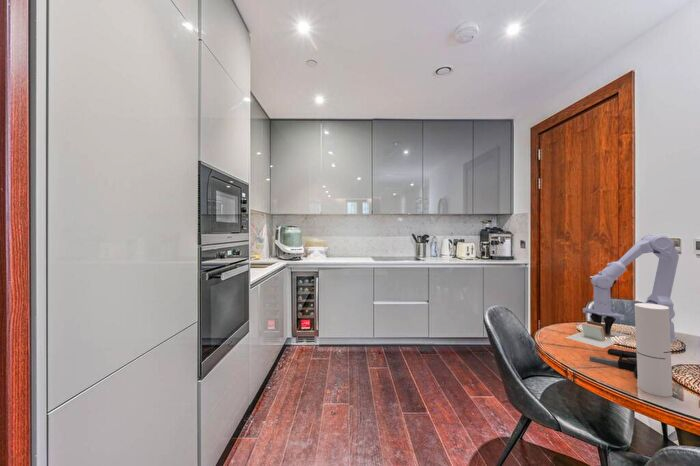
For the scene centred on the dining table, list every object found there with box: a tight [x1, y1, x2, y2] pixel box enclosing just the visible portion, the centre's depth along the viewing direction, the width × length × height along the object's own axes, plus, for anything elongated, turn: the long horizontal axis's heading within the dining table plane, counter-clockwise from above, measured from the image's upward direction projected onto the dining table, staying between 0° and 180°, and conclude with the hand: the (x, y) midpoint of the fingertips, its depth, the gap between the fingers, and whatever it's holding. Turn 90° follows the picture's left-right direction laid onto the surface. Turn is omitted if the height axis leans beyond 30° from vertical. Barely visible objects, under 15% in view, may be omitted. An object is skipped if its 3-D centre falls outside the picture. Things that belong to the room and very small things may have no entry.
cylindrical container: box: [634, 302, 674, 398], centre depth 87 cm, size 7×7×25 cm
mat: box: [564, 330, 633, 349], centre depth 129 cm, size 25×14×1 cm, turn 116°
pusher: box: [586, 320, 611, 336], centre depth 130 cm, size 11×6×6 cm, turn 116°
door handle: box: [589, 348, 638, 378], centre depth 104 cm, size 3×20×16 cm
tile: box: [581, 322, 605, 341], centre depth 127 cm, size 2×7×6 cm, turn 27°
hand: (603, 332), depth 131 cm, fingers closed on pusher, 2 cm apart
